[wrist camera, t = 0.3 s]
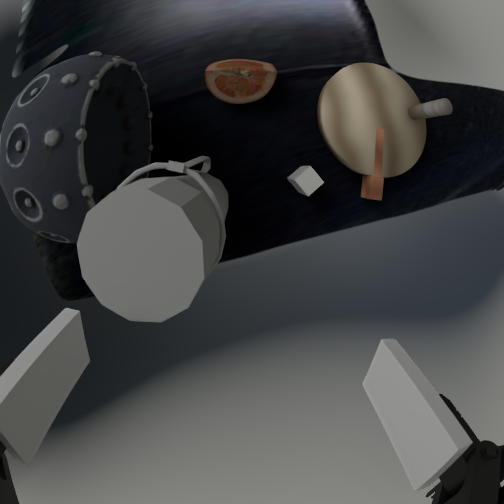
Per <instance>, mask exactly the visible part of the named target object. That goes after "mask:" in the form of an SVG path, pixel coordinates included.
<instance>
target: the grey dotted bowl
mask: <svg viewBox="0 0 504 504" xmlns="http://www.w3.org/2000/svg"><path fill="white" fill-rule="evenodd" d="M136 67H137V66H136V63H134V62H129V61H127V60H125V59H123V58H121V57H119V56H112V55H103V54H102V53H100V52H91V53H90V54H88V55H81V56H77V57H74V58H71V59H68V60H66V61H64V62H61V63H59V64H57V65H54V66H52V67H50V68H48V69H46V70H44V71H43V72H42V73H40V74H39V75H37V76H36V77H35V78H34V79H33V80H32V81H31V82H30V83H29V84H28V85H27V86H26V87H25V88H24V89H23V90H22V91H21V93H20V94H19V95H18V97H17V98H16V100H15V101H14V103H13V105H12V107H11V109H10V111H9V112H8V114H7V117H6V119H5V121H4V124H3V127H2V131H1V135H0V182H1V186H2V188H3V190H4V192H5V195H6V197H7V199H8V202H9V204H10V206H11V208H12V210H13V212H14V214H15V215H16V216H17V218H18V219H19V220H20V221H21V222H22V223H23V224H24V225H26V226H27V227H28V228H30V229H31V230H32V231H34V232H36V233H37V234H39V235H41V236H43V237H46V238H48V239H51V240H55V241H59V242H66V243H77V242H78V238H79V235H80V232H81V229H82V226H83V223H84V220H85V217H86V214H87V212H88V211H90V210H91V209H92V208H93V207H94V206H96V205H97V204H98V203H99V202H100V201H102V200H103V199H104V198H105V197H106V196H108V195H109V194H110V193H111V192H113V191H115V190H116V189H117V187H118V186H119V185H120V184H121V183H122V182H123V181H124V180H126V179H127V178H128V177H129V176H130V175H131V174H132V173H133V172H134V171H136V170H138V169H140V168H143V167H145V166H148V165H150V156H151V151H152V149H153V145H152V144H151V118H152V112H151V111H150V107H149V100H148V96H147V91H146V88H147V84H146V83H145V82H143V79H142V77H141V74H140V73H139V71H138V70H137V68H136ZM148 174H149V171H147V172H145V173H143V174H141V175H139V176H137V177H136V178H135V179H133V180H132V181H131V182H130V183H128V184H131V183H133V182H135V181H137V180H140V179H145V178H148Z"/></svg>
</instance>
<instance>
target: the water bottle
mask: <svg viewBox="0 0 504 504" xmlns="http://www.w3.org/2000/svg"><path fill="white" fill-rule="evenodd" d="M202 161H204V163H203V167H202V169H201V171H197V170H191V169H189V167H191V166H194V165H196V164H198V163H200V162H202ZM210 162H211V161H210V158H209V157H206V156H200V157H198V158H195V159H193V160H190V161H188V162H185V163H179V162H175V161H170V160H169V163H158V162H155V163H153V164H150V165H148V166H145V167H143V168H140V169H138V170H136V171H134V172H133V173H132V174H131V175H130V176H129V177H128V178H127V179H126V180H124V181H123V182H122V183H121V184H120V185H119V186H118V187H117V189H116V190H115V191H113V192H111V193H110V194H109V195H108V196H106V197H105V198H104V199H103V200H102V201H100V202H99V203H98V204H97V205H96V206H94V207H93V208H92V209H91V210H90V211H88V212H87V214H86V217H85V220H84V223H83V226H82V229H81V232H80V235H79V238H78V242H77V249H78V255H79V261H80V267H81V272H82V277H83V279H84V280H85V281H86V283H87V284H88V286H89V287H90V289H91V290H92V292H93V293H94V294H95V296H96V297H97V299H98V300H99V301H100V303H101V304H102V305H104V306H105V307H107V308H109V309H110V310H112V311H114V312H116V313H117V314H119V315H121V316H123V317H124V318H126V319H128V320H130V321H145V322H162V321H164V320H166V319H168V318H170V317H172V316H174V315H176V314H177V313H179V312H181V311H183V310H184V309H187V308H188V307H189V306H190V304H191V302H192V300H193V299H194V297H195V295H196V293H197V292H198V289H199V288H200V286H201V285H202V283H203V281H204V279H205V278H207V277H208V276H209V274H210V273H211V272H212V270H213V269H214V267H215V266H216V264H217V263H218V262H219V260H220V259H221V256H222V252H223V247H224V243H225V238H226V232H225V224H224V221H225V217H226V214H227V210H228V192H227V190H226V189H225V187H224V185H223V184H222V182H221V181H220V180H218V179H217V178H215V177H213V176H211V175H209V174H205V173H207V172H208V170H209V169H210ZM154 169H167V170H171V171H176V172H180V173H186V174H187V175H184V176H175V177H159V178H145V179H140V180H137V181H135V182H133V183H131V184H128V183H130V182H131V181H132V180H133V179H135V178H136V177H137V176H139V175H141V174H143V173H145V172H147V171H151V170H154ZM199 173H201V174H199ZM219 239H220V240H219Z"/></svg>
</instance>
